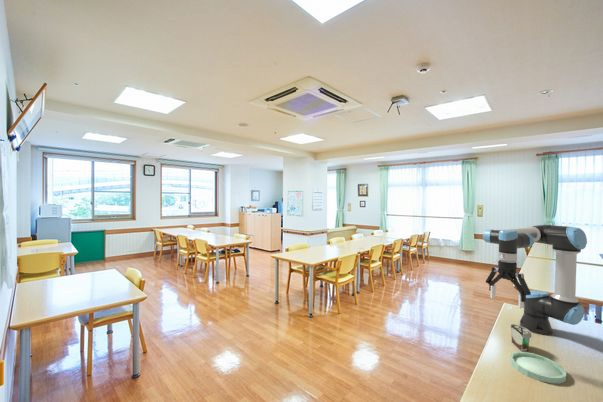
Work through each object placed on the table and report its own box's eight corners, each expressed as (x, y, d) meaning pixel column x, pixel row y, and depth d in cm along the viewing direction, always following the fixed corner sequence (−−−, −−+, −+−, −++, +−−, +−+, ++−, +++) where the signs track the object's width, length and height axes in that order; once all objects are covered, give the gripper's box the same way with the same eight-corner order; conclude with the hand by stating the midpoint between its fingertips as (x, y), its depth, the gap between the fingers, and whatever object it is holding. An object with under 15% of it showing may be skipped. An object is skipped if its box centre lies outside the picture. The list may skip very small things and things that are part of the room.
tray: (526, 353, 143) (526, 348, 143) (576, 377, 124) (576, 371, 124) (500, 361, 136) (500, 356, 136) (549, 388, 117) (549, 382, 117)
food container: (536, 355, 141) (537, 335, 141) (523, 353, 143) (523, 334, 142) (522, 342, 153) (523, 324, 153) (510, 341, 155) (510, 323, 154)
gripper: (478, 256, 149) (477, 294, 149) (530, 267, 125) (529, 313, 126) (488, 255, 151) (487, 293, 152) (541, 266, 128) (539, 311, 128)
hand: (506, 302), depth 139 cm, fingers open, 13 cm apart
